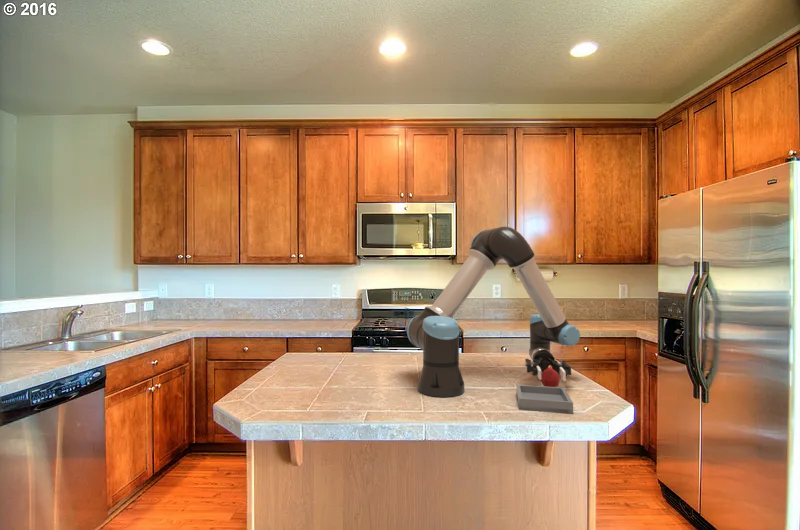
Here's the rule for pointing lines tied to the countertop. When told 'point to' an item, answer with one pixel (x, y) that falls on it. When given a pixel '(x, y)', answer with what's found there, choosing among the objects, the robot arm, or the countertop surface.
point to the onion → (550, 377)
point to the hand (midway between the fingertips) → (552, 375)
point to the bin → (544, 399)
